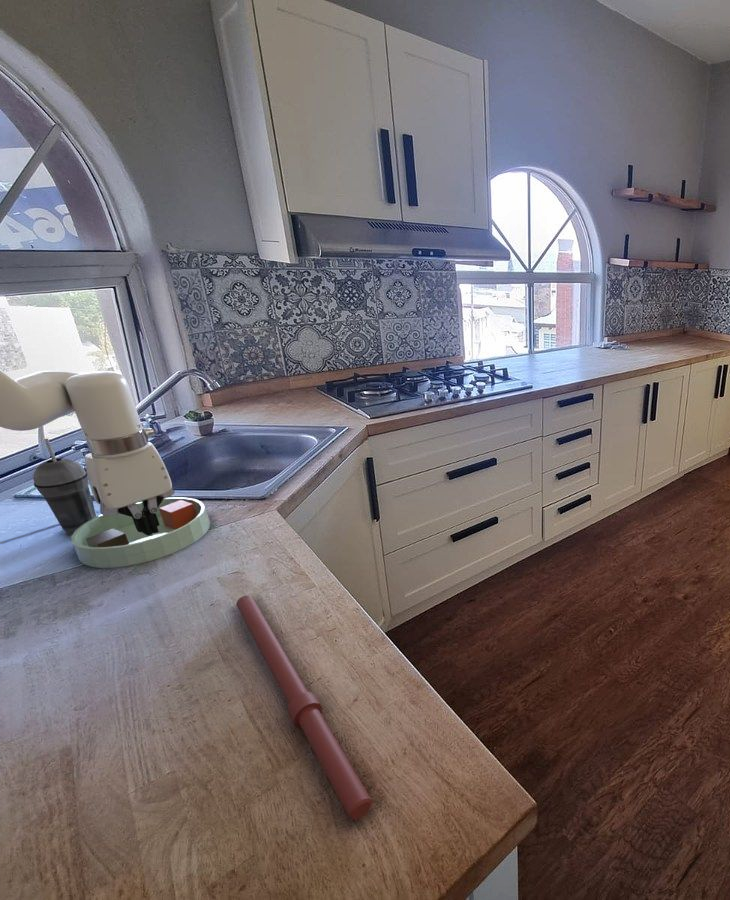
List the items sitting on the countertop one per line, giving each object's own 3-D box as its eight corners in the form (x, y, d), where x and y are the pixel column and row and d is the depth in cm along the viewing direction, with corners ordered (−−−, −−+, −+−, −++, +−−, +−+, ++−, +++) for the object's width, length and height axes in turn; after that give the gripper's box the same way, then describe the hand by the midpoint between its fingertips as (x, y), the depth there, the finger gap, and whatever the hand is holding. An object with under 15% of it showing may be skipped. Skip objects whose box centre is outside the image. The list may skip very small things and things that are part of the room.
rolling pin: (379, 809, 52) (374, 789, 51) (348, 832, 50) (343, 812, 49) (258, 604, 81) (253, 588, 80) (235, 613, 79) (230, 597, 78)
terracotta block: (176, 530, 100) (170, 512, 98) (164, 525, 101) (158, 508, 100) (198, 521, 103) (192, 503, 102) (186, 516, 105) (180, 499, 103)
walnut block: (105, 563, 89) (97, 544, 88) (93, 557, 90) (85, 538, 89) (132, 551, 92) (125, 533, 91) (120, 546, 94) (112, 528, 92)
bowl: (108, 583, 85) (99, 560, 83) (61, 550, 93) (52, 529, 91) (230, 531, 101) (224, 512, 99) (181, 507, 109) (175, 489, 107)
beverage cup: (100, 518, 104) (64, 428, 96) (114, 528, 101) (78, 436, 93) (51, 534, 98) (9, 439, 91) (64, 545, 95) (21, 448, 87)
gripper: (158, 426, 96) (185, 510, 103) (51, 451, 83) (89, 545, 90) (178, 434, 93) (204, 520, 99) (70, 461, 80) (108, 557, 87)
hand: (149, 532), depth 95 cm, fingers closed
